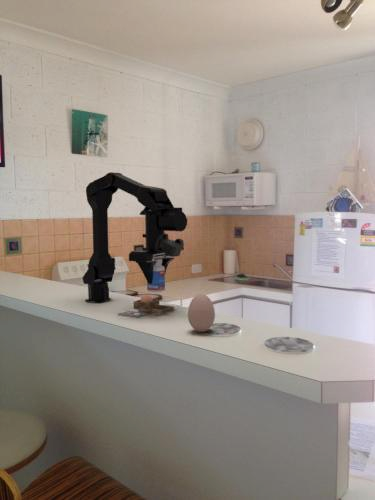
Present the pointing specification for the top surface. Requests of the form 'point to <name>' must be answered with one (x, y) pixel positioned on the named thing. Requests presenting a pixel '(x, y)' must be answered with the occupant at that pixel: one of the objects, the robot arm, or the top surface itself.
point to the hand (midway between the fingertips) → (155, 282)
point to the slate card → (132, 314)
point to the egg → (201, 313)
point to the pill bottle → (157, 277)
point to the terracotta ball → (146, 299)
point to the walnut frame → (145, 304)
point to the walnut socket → (153, 312)
